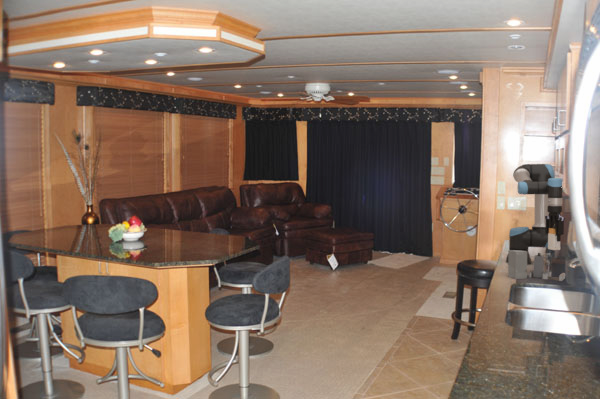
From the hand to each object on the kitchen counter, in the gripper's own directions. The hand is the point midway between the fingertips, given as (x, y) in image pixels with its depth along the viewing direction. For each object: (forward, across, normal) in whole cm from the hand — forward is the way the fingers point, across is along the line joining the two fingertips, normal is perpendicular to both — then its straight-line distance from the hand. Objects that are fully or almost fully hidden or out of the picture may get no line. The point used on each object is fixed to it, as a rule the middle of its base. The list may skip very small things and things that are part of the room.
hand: (554, 246), depth 302 cm
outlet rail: (+18, +4, -7) cm, 19 cm away
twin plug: (+17, 0, -10) cm, 20 cm away
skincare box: (+18, -2, -22) cm, 28 cm away
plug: (+2, 0, 0) cm, 2 cm away
